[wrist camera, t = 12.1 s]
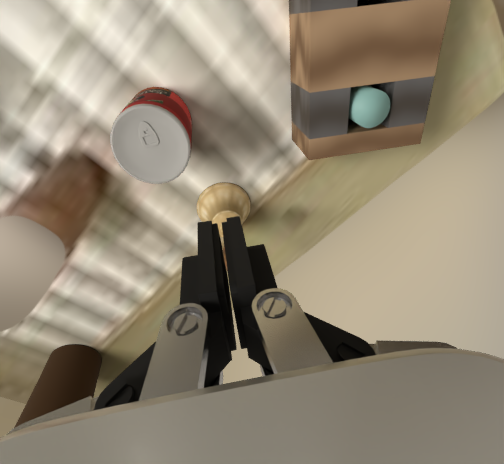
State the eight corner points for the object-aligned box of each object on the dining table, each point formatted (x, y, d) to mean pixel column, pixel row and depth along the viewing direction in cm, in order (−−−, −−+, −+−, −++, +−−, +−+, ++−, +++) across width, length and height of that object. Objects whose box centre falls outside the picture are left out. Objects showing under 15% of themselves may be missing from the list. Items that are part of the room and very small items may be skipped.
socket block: (287, -77, 31) (311, -103, 25) (419, -89, 32) (476, -118, 26) (292, 139, 44) (309, 160, 37) (387, 125, 45) (420, 143, 38)
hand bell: (248, 179, 46) (269, 241, 33) (251, 226, 51) (271, 296, 38) (192, 185, 45) (191, 251, 32) (200, 232, 50) (202, 306, 37)
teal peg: (333, 82, 39) (357, 92, 33) (364, 78, 39) (393, 87, 33) (331, 115, 41) (353, 130, 35) (360, 111, 41) (387, 125, 36)
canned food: (166, 72, 37) (157, 88, 28) (204, 131, 41) (206, 161, 32) (115, 107, 38) (90, 133, 29) (156, 160, 43) (146, 197, 34)
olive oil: (36, 347, 59) (-50, 521, 38) (93, 337, 59) (39, 502, 39) (61, 378, 65) (-2, 543, 44) (113, 368, 65) (74, 526, 45)
